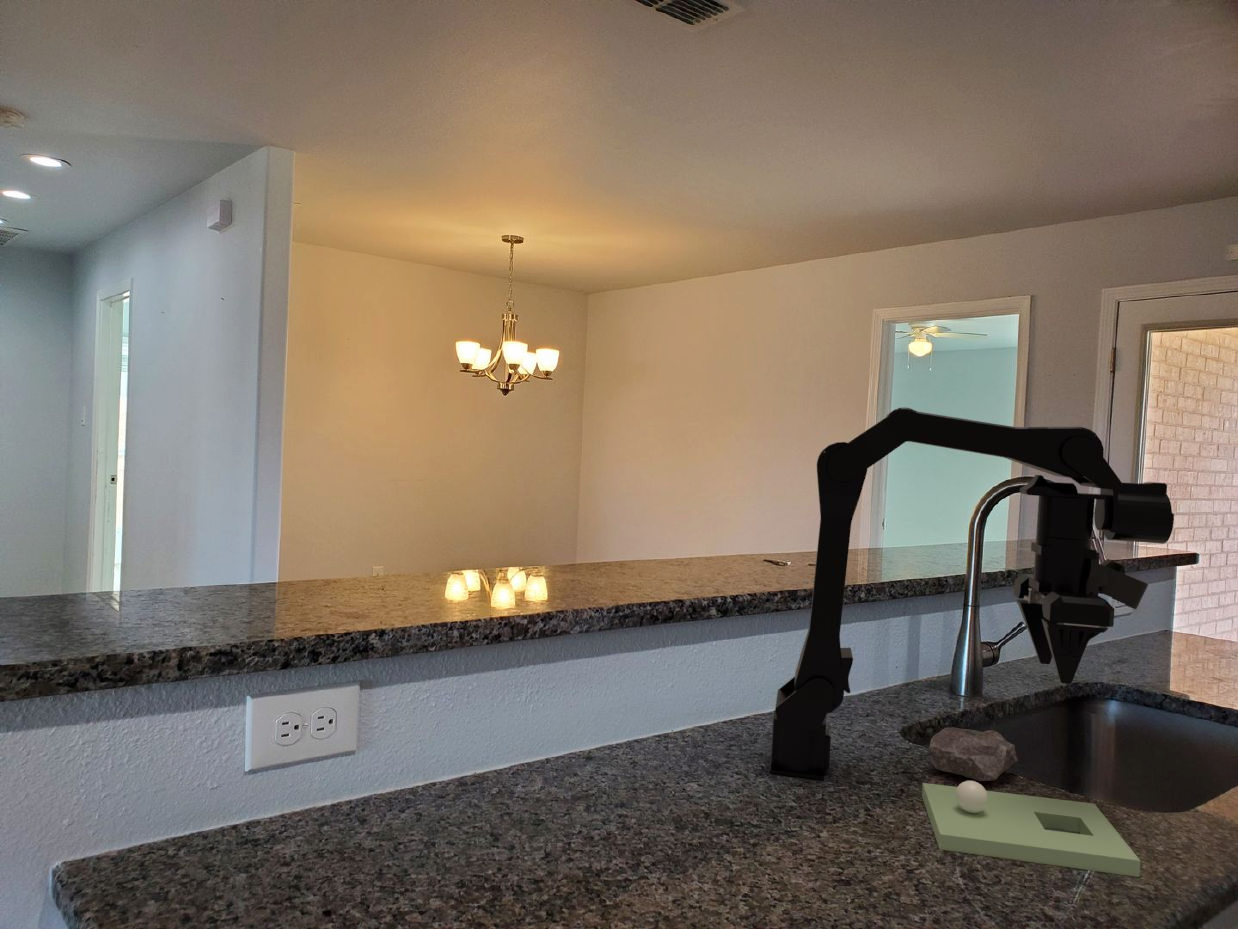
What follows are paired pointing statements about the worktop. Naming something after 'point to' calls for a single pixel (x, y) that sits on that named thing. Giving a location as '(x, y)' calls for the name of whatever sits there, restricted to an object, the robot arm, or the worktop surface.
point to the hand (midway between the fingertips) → (1054, 673)
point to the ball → (971, 796)
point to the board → (1030, 831)
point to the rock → (972, 753)
